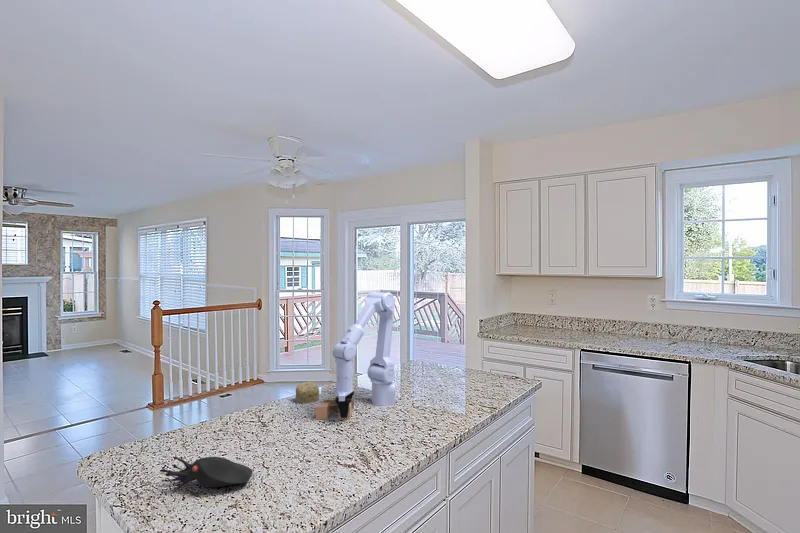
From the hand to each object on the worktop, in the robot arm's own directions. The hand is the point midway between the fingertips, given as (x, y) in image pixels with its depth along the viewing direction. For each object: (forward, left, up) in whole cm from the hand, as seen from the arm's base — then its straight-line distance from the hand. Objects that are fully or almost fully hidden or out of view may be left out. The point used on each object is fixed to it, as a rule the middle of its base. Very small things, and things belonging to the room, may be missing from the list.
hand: (345, 414), depth 151 cm
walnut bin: (+4, -9, -2) cm, 10 cm away
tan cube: (+8, 0, -1) cm, 8 cm away
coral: (+18, -18, -2) cm, 26 cm away
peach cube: (0, 0, -1) cm, 1 cm away
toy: (+29, +43, -2) cm, 52 cm away
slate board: (+4, 0, -2) cm, 4 cm away
